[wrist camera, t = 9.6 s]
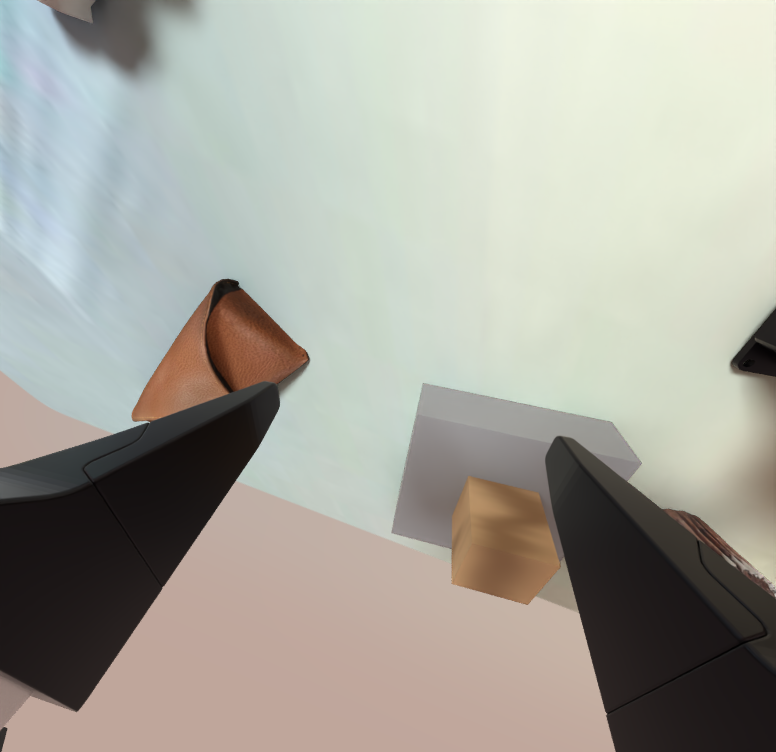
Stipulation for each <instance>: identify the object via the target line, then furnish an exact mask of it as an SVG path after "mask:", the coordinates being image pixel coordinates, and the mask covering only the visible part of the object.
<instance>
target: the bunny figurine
mask: <svg viewBox="0 0 776 752" xmlns="http://www.w3.org/2000/svg"><path fill="white" fill-rule="evenodd" d="M38 1H40V2H42V3H43V4H45V5H47V6H49V7H51V8H53V9H55V10H57V11H59V12H61V13H64V14H67V15H70V16H72V17H75V18H78V19H81V20H84V21H86V22H89V23H92V24H93V19H92V13H91V6H92V5H93V3H94V2H95V1H96V0H38Z"/></svg>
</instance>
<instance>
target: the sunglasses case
mask: <svg viewBox="0 0 776 752" xmlns="http://www.w3.org/2000/svg"><path fill="white" fill-rule="evenodd" d="M238 284H239V282H238V281H235V280H231V279H222V280H220V281H218V282H216V283H215V284H214V285H213V287H212V288H211V290H210V292H209V293H208V295H207V296H206V297H205V298H204V300H203V301H202V302H201V304H200V305H199V306H198V308H197V309H196V311H195V312H194V313H193V315H192V316H191V317H190V319H189V320H188V322H187V323H186V325H185V326H184V327H183V329H182V330H181V332H180V333H179V335H178V336H177V338H176V339H175V341H174V343H173V344H172V346H171V348H170V349H169V351H168V352H167V354H166V355H165V357H164V358H163V360H162V361H161V363H160V364H159V366H158V367H157V369H156V371H155V372H154V374H153V375H152V377H151V378H150V380H149V382H148V383H147V385H146V387H145V389H144V390H143V392H142V394H141V396H140V398H139V400H138V402H137V404H136V406H135V407H134V409H133V412H132V420H133V421H135V422H137V421H149V422H151V421H153V420H156V419H159V418H162V417H165V416H167V415H170V414H173V413H176V412H179V411H182V410H184V409H187V408H190V407H193V406H196V405H198V404H201V403H204V402H207V401H210V400H212V399H215V398H218V397H221V396H224V395H226V394H229V393H232V392H235V391H238V390H240V389H243V388H246V387H249V386H252V385H254V384H257V383H260V382H263V381H268V382H273V383H276V384H278V383H279V382H281V381H282V380H283V379H285V378H286V377H287V376H289V375H290V374H291V373H293V372H294V371H295V370H297V369H298V368H299V367H301V366H302V365H303V364H304V363H306V362H307V361H308V359H309V357H308V354H307V352H306V350H304V349H303V348H302V347H300V346H299V345H297V344H296V343H295V342H294V341H293V340H292V339H291V338H290V337H289V336H288V335H287V334H286V333H285V331H283V330H282V328H280V326H279V325H278V324H277V323H276V322H275V321H274V320H273V319H272V318H271V317H270V316H269V315H268V314H267V313H266V312H265V311H264V310H263V309H262V308H261V307H260V306H259V305H258V304H257V303H256V302H255V301H254V300H253V299H252V298H251V297H250V296H249V295H248V294H247V293H246V292H245V291H244V290H243V289H241V288H239V287H238Z"/></svg>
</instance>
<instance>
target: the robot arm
mask: <svg viewBox="0 0 776 752" xmlns="http://www.w3.org/2000/svg"><path fill="white" fill-rule="evenodd" d="M746 360H748V361H747V362H746V363H744V362H745V361H746ZM743 363H744V364H743ZM732 364H733V366H734V367H736V368H738V369H740V370H742V371H748V372H753V373H759V374H764V375H770V376H775V377H776V309H775V311H774V312H773V313H772V314H771V315H770V316H769V318H768V319H767V320H766V321H765V322H764V324H763V325H762V326H761V327H760V328H759V329H758V331H757V332H756V333H755V334H754V335H753V337H752V338H751V339H750V340H749V341H748V342H747V344H746V345H745V346H744V347H743V348H742V350H741V351H740V352H739V353H738V354H737V355H736V357H735V358H734V359H733V361H732ZM279 407H280V399H279V391H278V386H277V384H276V383H273V382H268V381H263V382H260V383H257V384H254V385H252V386H249V387H246V388H243V389H240V390H238V391H235V392H232V393H229V394H226V395H224V396H221V397H218V398H215V399H212V400H210V401H207V402H204V403H201V404H198V405H196V406H193V407H190V408H187V409H184V410H182V411H179V412H176V413H173V414H170V415H167V416H165V417H162V418H159V419H156V420H153V421H151V422H150V423H145V424H142V425H139V426H136V427H134V428H131V429H128V430H125V431H122V432H119V433H116V434H113V435H110V436H107V437H104V438H101V439H98V440H95V441H92V442H88V443H85V444H82V445H79V446H75V447H72V448H69V449H65V450H62V451H59V452H56V453H52V454H49V455H46V456H43V457H39V458H36V459H33V460H30V461H26V462H23V463H20V464H16V465H12V466H9V467H5V468H0V752H1V751H2V747H3V743H4V740H5V735H6V731H7V728H5V727H4V726H5V724H6V723H7V722H8V721H9V720H10V719H11V718H12V716H13V715H14V714H15V713H16V711H18V709H19V708H20V707H21V706H22V705H23V704H24V702H25V701H26V700H27V699H28V698H29V697H30V696H32V697H35V698H38V699H41V700H44V701H46V702H49V703H52V704H55V705H58V706H61V707H63V708H66V709H69V710H72V711H75V712H77V711H78V710H79V709H80V708H81V707H82V705H83V704H84V703H85V701H86V700H87V699H88V697H89V696H90V694H91V693H92V692H93V690H94V689H95V687H96V685H97V684H98V683H99V681H100V680H101V678H102V677H103V675H104V674H105V672H106V671H107V669H108V668H109V667H110V665H111V664H112V662H113V661H114V659H115V658H116V656H117V655H118V653H119V652H120V650H121V649H122V647H123V646H124V645H125V643H126V642H127V640H128V639H129V637H130V636H131V634H132V633H133V631H134V630H135V628H136V627H137V625H138V624H139V623H140V621H141V620H142V618H143V617H144V615H145V613H146V612H147V610H148V609H149V608H150V606H151V605H152V603H153V602H154V600H155V599H156V598H157V596H158V595H159V593H160V592H161V590H162V587H163V586H164V585H165V584H166V582H167V581H168V580H169V578H170V576H171V575H172V574H173V572H174V571H175V569H176V568H177V566H178V565H179V563H180V562H181V560H182V559H183V557H184V556H185V555H186V553H187V552H188V550H189V549H190V547H191V546H192V544H193V543H194V541H195V540H196V538H197V537H198V535H199V534H200V533H201V531H202V529H203V528H204V527H205V525H206V523H207V522H208V521H209V519H210V518H211V516H212V515H213V513H214V512H215V510H216V509H217V507H218V506H219V505H220V503H221V502H222V500H223V499H224V497H225V496H226V494H227V493H228V491H229V490H230V488H231V487H232V485H233V484H234V483H235V481H236V480H237V478H238V477H239V475H240V474H241V472H242V471H243V469H244V468H245V466H246V465H247V463H248V462H249V461H250V459H251V458H252V456H253V455H254V453H255V452H256V450H257V449H258V447H259V445H260V444H261V442H262V440H263V438H264V436H265V434H266V433H267V431H268V429H269V427H270V425H271V423H272V421H273V419H274V417H275V416H276V414H277V412H278V410H279ZM545 465H546V472H547V479H548V486H549V493H550V500H551V506H552V511H553V515H554V519H555V523H556V526H557V530H558V534H559V538H560V542H561V545H562V549H563V553H564V557H565V561H566V564H567V568H568V572H569V576H570V580H571V583H572V587H573V591H574V595H575V598H576V602H577V606H578V610H579V614H580V617H581V621H582V625H583V629H584V633H585V636H586V640H587V644H588V647H589V651H590V655H591V659H592V663H593V666H594V670H595V674H596V678H597V682H598V686H599V689H600V693H601V696H602V700H603V704H604V708H605V712H606V713H607V715H606V717H607V720H608V724H609V728H610V732H611V736H612V739H613V743H614V747H615V751H616V752H776V598H775V597H773V596H772V595H771V594H769V593H768V592H766V591H765V590H764V589H762V588H761V587H760V586H758V585H757V584H756V583H754V582H753V581H752V580H750V579H749V578H748V577H746V576H745V575H744V574H743V573H741V572H740V571H739V570H738V569H736V568H735V567H734V566H732V565H731V564H730V563H729V562H727V561H726V560H725V559H723V558H722V557H721V556H720V555H718V554H717V553H716V552H715V551H713V550H712V549H711V548H710V547H708V546H707V545H706V544H705V543H703V542H702V541H701V540H697V537H696V536H695V535H693V534H692V533H691V532H690V531H688V530H687V529H686V528H685V527H683V526H682V525H681V524H680V523H678V522H677V521H676V520H675V519H673V518H672V517H671V516H670V515H668V514H667V513H666V512H665V511H663V510H662V509H661V508H660V507H658V506H657V505H656V504H655V503H653V502H652V501H651V500H650V499H648V498H647V497H646V496H645V495H643V494H642V493H641V492H640V491H638V490H637V489H636V488H635V487H633V486H632V485H631V484H630V483H628V482H627V481H626V480H625V479H623V478H622V477H621V476H620V475H618V474H617V473H616V472H615V471H613V470H612V469H611V468H610V467H608V466H607V465H606V464H605V463H603V462H602V461H601V460H600V459H598V458H597V457H596V456H595V455H593V454H592V453H591V452H590V451H588V450H587V449H586V448H585V447H583V446H582V445H581V444H580V443H578V442H577V441H576V440H575V439H573V438H571V437H566V436H561V435H558V436H556V437H555V438H554V440H553V442H552V444H551V446H550V448H549V450H548V452H547V454H546V457H545Z"/></svg>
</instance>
